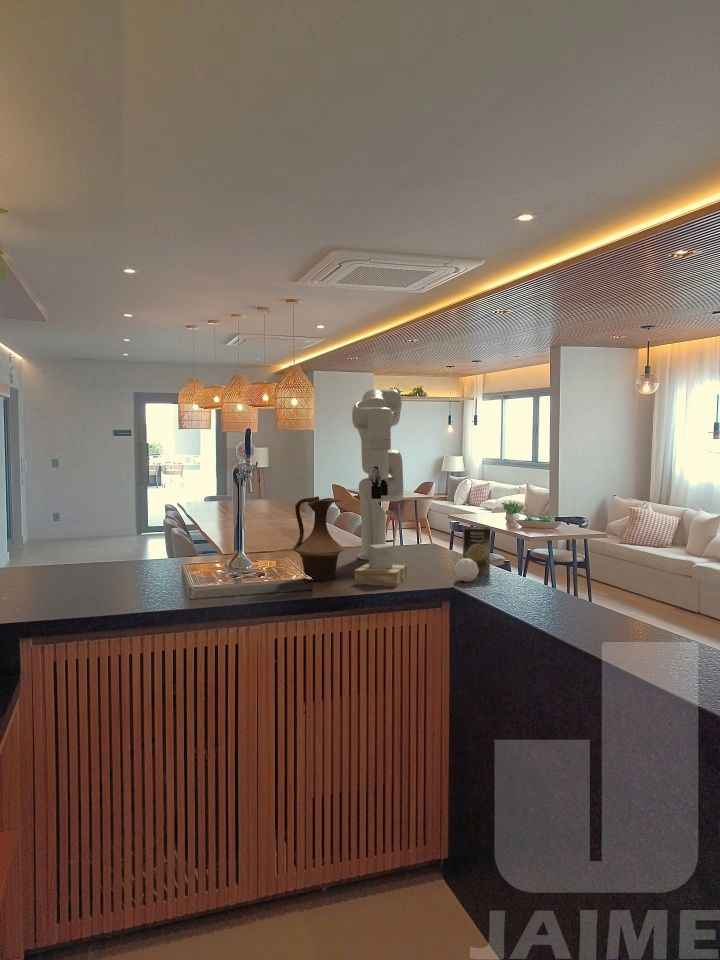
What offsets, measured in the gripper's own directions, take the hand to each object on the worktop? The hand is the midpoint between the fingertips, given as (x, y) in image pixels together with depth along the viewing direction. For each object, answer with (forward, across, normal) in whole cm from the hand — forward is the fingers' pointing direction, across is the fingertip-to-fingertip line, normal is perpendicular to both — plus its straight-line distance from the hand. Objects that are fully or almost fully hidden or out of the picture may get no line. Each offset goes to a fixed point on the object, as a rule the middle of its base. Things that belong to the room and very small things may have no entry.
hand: (379, 497), depth 226 cm
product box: (+24, +1, 0) cm, 24 cm away
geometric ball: (+28, -4, +28) cm, 40 cm away
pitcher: (+28, +2, -21) cm, 35 cm away
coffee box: (+28, -17, +30) cm, 45 cm away
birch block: (+28, +1, +1) cm, 29 cm away
